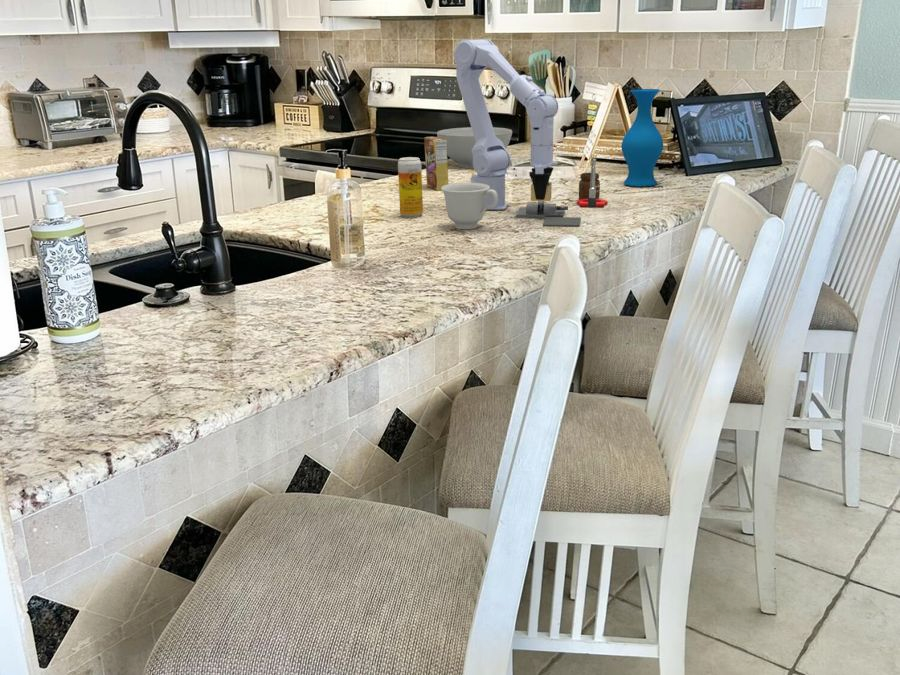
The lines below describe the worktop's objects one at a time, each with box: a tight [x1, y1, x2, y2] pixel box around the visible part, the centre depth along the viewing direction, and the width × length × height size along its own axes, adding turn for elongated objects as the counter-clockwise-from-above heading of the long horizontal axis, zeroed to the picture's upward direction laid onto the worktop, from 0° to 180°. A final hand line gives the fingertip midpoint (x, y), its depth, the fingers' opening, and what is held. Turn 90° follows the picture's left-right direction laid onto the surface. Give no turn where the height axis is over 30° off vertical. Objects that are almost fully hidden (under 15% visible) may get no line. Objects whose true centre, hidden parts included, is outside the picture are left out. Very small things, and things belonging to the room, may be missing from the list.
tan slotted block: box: [530, 181, 553, 202], centre depth 219 cm, size 5×5×4 cm
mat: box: [542, 216, 582, 228], centre depth 211 cm, size 9×9×1 cm
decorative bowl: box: [436, 126, 513, 169], centre depth 301 cm, size 27×27×12 cm
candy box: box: [423, 136, 449, 192], centre depth 259 cm, size 9×4×15 cm, turn 23°
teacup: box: [441, 182, 498, 230], centre depth 207 cm, size 12×15×10 cm
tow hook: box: [576, 158, 609, 208], centre depth 230 cm, size 8×13×9 cm
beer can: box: [397, 156, 424, 219], centre depth 221 cm, size 6×6×15 cm
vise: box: [515, 201, 569, 219], centre depth 220 cm, size 13×10×6 cm
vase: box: [621, 88, 664, 188], centre depth 253 cm, size 12×13×28 cm
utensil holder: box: [578, 154, 601, 200], centre depth 238 cm, size 6×6×12 cm
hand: (541, 197), depth 220 cm, fingers closed on tan slotted block, 5 cm apart
